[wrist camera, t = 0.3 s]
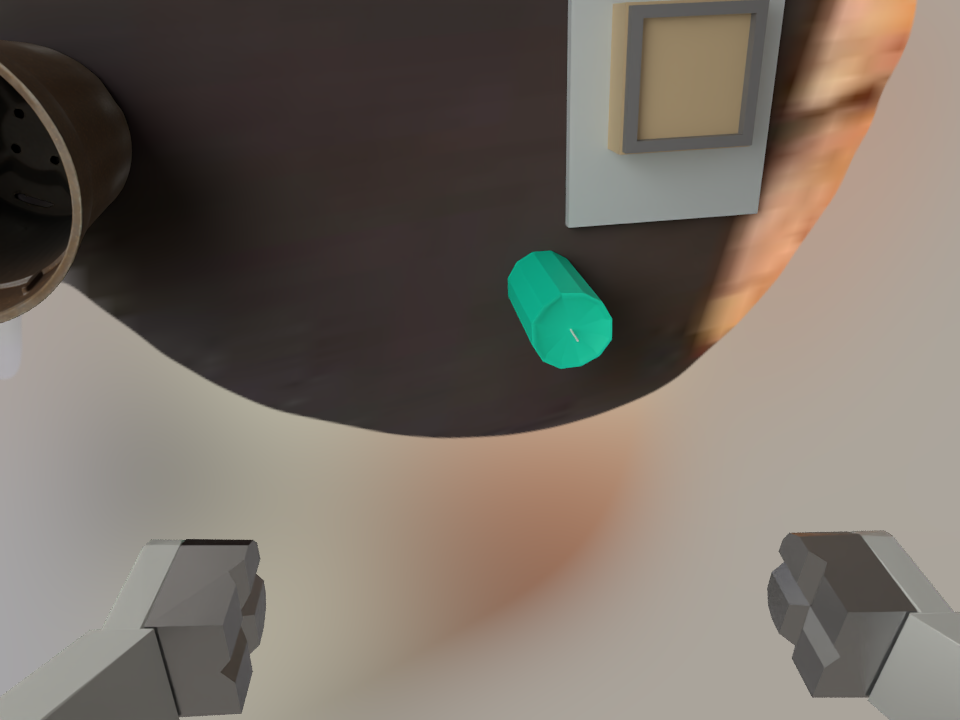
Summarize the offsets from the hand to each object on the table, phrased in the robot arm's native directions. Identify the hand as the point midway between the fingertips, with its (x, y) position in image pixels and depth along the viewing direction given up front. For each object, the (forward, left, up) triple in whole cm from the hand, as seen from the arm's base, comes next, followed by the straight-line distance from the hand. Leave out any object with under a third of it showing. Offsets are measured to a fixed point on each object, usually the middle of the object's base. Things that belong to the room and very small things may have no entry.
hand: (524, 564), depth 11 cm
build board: (-4, +20, -47) cm, 51 cm away
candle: (+12, +10, -47) cm, 50 cm away
